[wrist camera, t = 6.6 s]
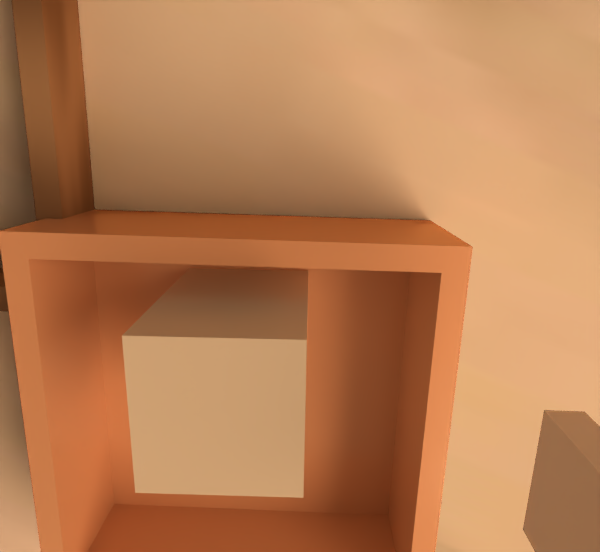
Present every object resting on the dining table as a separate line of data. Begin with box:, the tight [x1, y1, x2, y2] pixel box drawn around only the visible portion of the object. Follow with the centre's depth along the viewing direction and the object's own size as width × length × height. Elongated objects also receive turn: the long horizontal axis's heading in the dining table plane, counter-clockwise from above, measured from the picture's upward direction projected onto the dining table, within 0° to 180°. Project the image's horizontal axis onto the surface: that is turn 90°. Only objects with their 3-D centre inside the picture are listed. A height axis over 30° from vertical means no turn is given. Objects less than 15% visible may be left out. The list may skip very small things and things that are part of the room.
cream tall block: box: [122, 268, 308, 498], centre depth 14 cm, size 4×4×6 cm
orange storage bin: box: [0, 210, 473, 552], centre depth 16 cm, size 12×12×4 cm
